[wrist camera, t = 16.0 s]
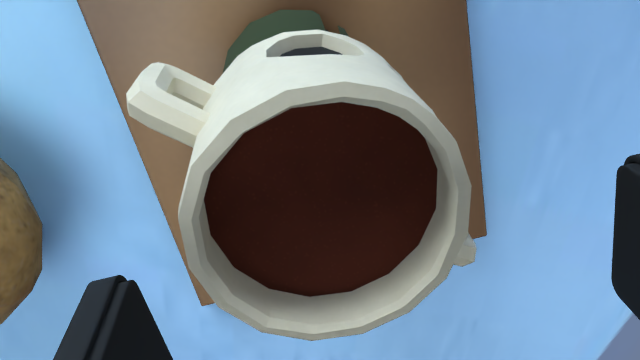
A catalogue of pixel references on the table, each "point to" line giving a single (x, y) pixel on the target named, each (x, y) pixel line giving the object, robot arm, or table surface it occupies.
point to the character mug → (311, 180)
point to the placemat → (335, 10)
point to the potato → (17, 242)
